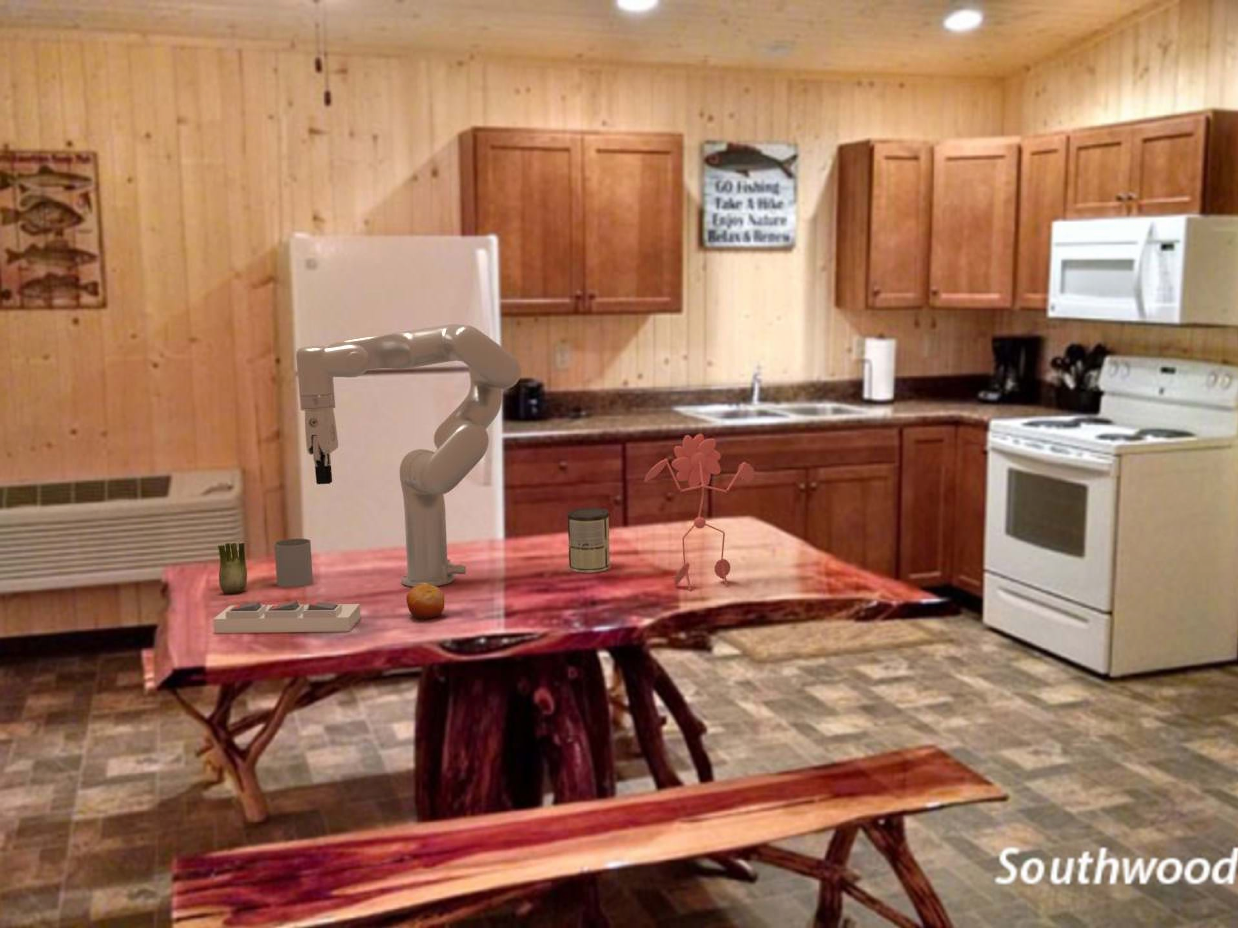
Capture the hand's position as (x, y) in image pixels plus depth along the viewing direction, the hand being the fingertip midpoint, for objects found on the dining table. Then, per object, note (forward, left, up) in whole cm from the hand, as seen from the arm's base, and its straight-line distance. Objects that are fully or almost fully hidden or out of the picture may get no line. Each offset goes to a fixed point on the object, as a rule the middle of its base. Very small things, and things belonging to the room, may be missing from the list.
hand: (324, 483), depth 268 cm
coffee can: (-58, -24, -27) cm, 68 cm away
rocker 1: (+11, +24, -22) cm, 35 cm away
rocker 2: (-5, +24, -22) cm, 33 cm away
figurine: (-84, -9, -27) cm, 88 cm away
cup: (+12, -13, -27) cm, 32 cm away
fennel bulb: (+24, -5, -27) cm, 36 cm away
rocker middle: (+3, +24, -22) cm, 33 cm away
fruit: (-25, +17, -27) cm, 40 cm away
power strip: (+3, +22, -26) cm, 35 cm away
